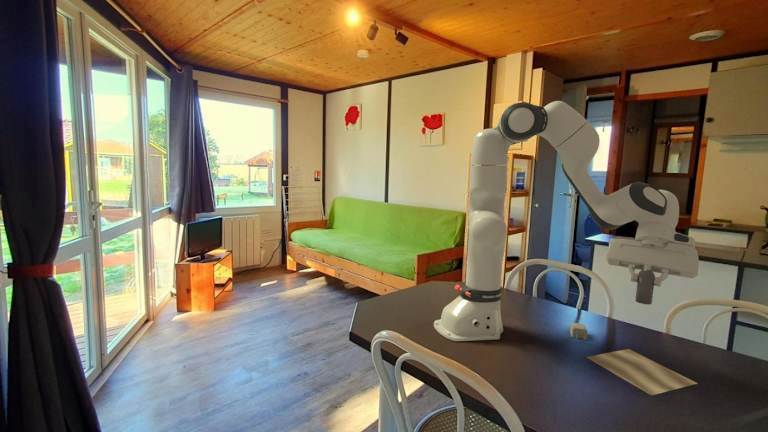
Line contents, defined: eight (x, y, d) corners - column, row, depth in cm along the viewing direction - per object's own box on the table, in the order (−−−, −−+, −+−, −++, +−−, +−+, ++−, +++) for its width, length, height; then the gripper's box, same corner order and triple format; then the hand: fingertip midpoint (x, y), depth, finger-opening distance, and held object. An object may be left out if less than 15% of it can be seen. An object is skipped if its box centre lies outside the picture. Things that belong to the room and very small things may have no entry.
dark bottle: (645, 305, 96) (649, 266, 95) (632, 300, 100) (636, 263, 98) (655, 303, 97) (659, 265, 96) (641, 299, 101) (646, 262, 99)
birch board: (650, 399, 86) (651, 395, 86) (585, 360, 103) (586, 357, 103) (697, 387, 92) (697, 383, 91) (628, 352, 108) (628, 348, 108)
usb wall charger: (583, 336, 118) (585, 324, 118) (588, 346, 112) (589, 333, 111) (569, 334, 119) (571, 322, 119) (573, 343, 113) (574, 331, 112)
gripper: (610, 229, 108) (599, 268, 102) (702, 239, 95) (696, 285, 89) (611, 241, 112) (601, 280, 106) (700, 253, 99) (694, 298, 93)
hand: (645, 282), depth 97 cm, fingers closed on dark bottle, 4 cm apart
